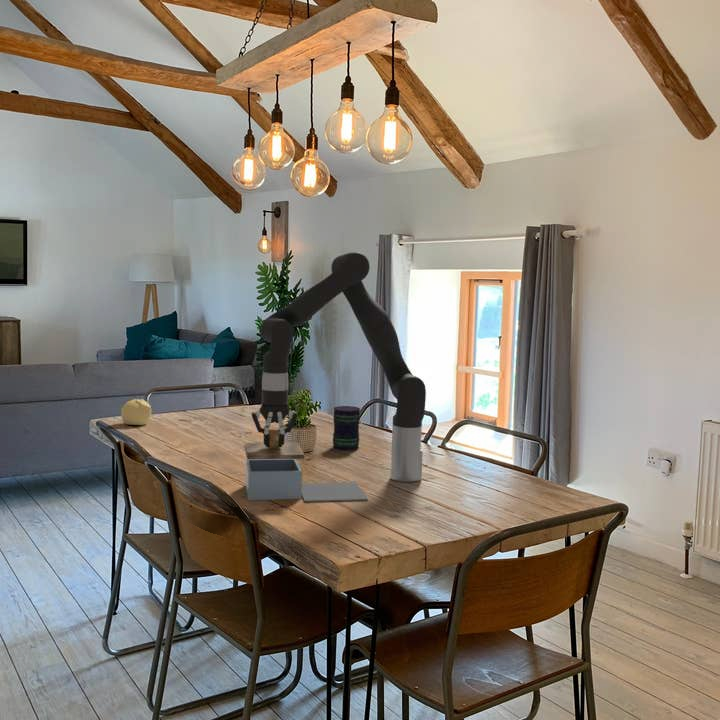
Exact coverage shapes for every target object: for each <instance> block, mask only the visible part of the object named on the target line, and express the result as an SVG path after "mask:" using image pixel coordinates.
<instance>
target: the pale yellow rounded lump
mask: <svg viewBox="0 0 720 720" xmlns="http://www.w3.org/2000/svg"><path fill="white" fill-rule="evenodd" d="M152 411H153V410H152V406H151V405H150V404H149V402H147V401H146V400H145V399H143V398H139V399H138V398H133V399H132V400H129V401H126V403H124V404H123V406H122V408H121V413H120V414H121V416H120V417H121V420H122V422H123V423H124V424H125V425H132V426H145V425H146V424H147V423H148V422H150V420H151V416H152Z"/></svg>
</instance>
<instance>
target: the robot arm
mask: <svg viewBox="0 0 720 720" xmlns="http://www.w3.org/2000/svg"><path fill="white" fill-rule="evenodd" d="M330 269H331V274H329V275H328V276H326V277H325V278H324V279H323V280H321V281H319V282H317V283H316V284H314V285H313V286H312V287H310V288H308V289H307V290H305V291H304V292H302V293H301V294H300V295H299V296H297V297H296V298H295V299H293V300H292V301H290V303H289V304H288V305H287V306H285V307H283V308H281V309H279V310H277V311H276V312H274V313H273V314H271V315H269V316H268V317H267V318H265V319H264V320H263V321H262V323H261V325H260V328H259V334H260V337H261V338H262V339H263V340H264V341H266V342H268V343H270V346H269V351H266V352H265V353H264V355H263V361H262V362H263V365H262V367H263V368H262V378H261V406H260V408H259V410H256V411H252V412H251V413H250V414H251V418H252V421H253V422H254V425H255V427H256V429H257V432H258V433H260V434H263V443H264V445H266V447H269V429H270V427H271V424H274V423H277V424H278V429H279V430H280V437H279V447H282V445H284V443H285V435H286V434H287V433H291V431H292V430H293V427H294V424H295V423H296V421H297V418H298V415H299V414H298V413H297V412H296V411H293V410H290V408H289V403H288V401H289V400H288V399H289V388H290V387H289V373H288V372H289V370H288V369H289V368H288V367H289V356H290V352H291V347H292V344H293V340H294V330H293V328H294V327H297V326H302V325H304V324H305V323H306V322H308V321H309V320H310V319H311V318H312V317H313V316H315V315H316V314H317V313H318V312H319V311H320V310H322V309H323V308H324V307H325V306H326V305H328V303H330V302H331V301H333V299H334V298H336V297H337V296H338V295H340V294H343V296H344V297H345V299H346V300H347V302H348V303H349V306H350V307H351V309H352V312H353V314H354V316H355V318H356V320H357V322H358V324H359V326H360V328H361V331H362V333H363V334H364V336H365V338H366V341H367V343H368V344H369V347H370V348H371V350H372V352H373V354H374V355H375V357H376V359H377V361H378V362H379V364H380V365H381V368H382V370H383V372H384V375H385V377H386V380H387V383H388V386H389V388H390V391H391V394H392V396H393V397H394V398H395V399H396V411H395V414H394V415H393V416H392V431H391V433H392V434H391V455H390V456H391V458H390V462H391V463H390V478H391V480H393V481H396V482H401V483H402V482H403V483H412V482H413V483H414V482H417V481H422V480H423V479H422V478H423V454H424V453H423V450H422V433H423V430H422V428H423V427H422V426H423V420H424V417H425V412H426V400H427V399H426V398H427V390H426V384H425V382H424V381H423V380H422V379H421V378H420V377H418V376H417V375H414V374H413V373H412V372H411V370H410V369H409V367H408V365H407V363H406V361H405V359H404V358H403V355H402V351H401V346H400V341H399V338H398V334H397V331H396V329H395V327H394V325H393V322H392V320H391V319H390V316H389V315H388V313H387V311H386V310H384V308H383V307H382V306H381V305H380V304H379V303H378V302H377V301H376V300H375V299H374V298H373V297H372V295H370V294H369V292H368V290H367V288H366V286H365V285H364V283H363V280H365V279H366V278H367V276H368V274H369V272H370V261H369V258H368V257H367V256H366V255H365V254H363V253H362V252H358V251H352V252H347V253H344V254H341V255H338V256H337V257H335V258H334V259H333V260H332V263H331V268H330ZM260 415H261V416H262V417H263V418H264V420H265V421H264V427H262V426H261V424H260V422H259V419H260ZM287 416H288V418H289V421H288V422H287V424H286V427H285V426H284V420H285V419H286V418H287Z"/></svg>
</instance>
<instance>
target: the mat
mask: <svg viewBox="0 0 720 720" xmlns="http://www.w3.org/2000/svg"><path fill="white" fill-rule="evenodd" d="M301 498H302V499H303V501H304V503H328V502H334V503H335V502H365V501H367V502H368V500H369V499H368V497H367V496H366V495H365V493H364V491H363V490H362V488H360V486H359V485H358V483H357V482H355V481H354V482H353V481H352V482H351V481H350V482H310V483H309V482H308V483H307V482H304V483H303V482H302V495H301Z"/></svg>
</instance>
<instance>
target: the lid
mask: <svg viewBox="0 0 720 720" xmlns="http://www.w3.org/2000/svg"><path fill="white" fill-rule="evenodd" d="M268 434H269V447H266V445H264V442H244V451H245V454H246V460H248V459H296V460H305V453H304V451H303V449H302V447H301V446H300V443H299V442H284V445H282V447H279V437H280V430H279V428H269V432H268Z"/></svg>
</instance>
